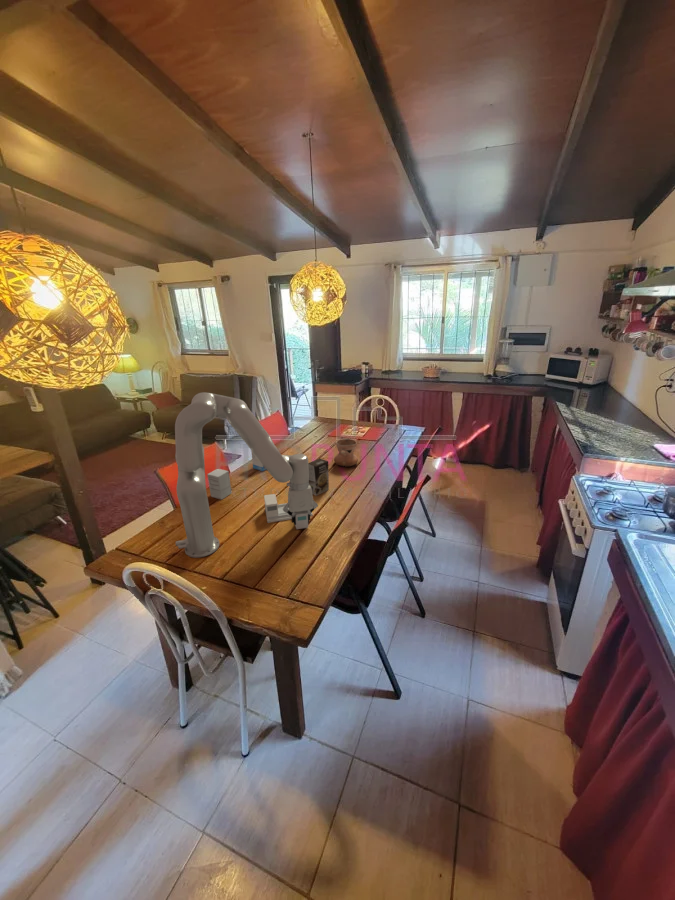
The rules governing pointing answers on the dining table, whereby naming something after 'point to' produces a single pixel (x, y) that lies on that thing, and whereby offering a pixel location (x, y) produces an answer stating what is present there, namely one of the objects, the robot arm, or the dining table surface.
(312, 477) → the coffee box
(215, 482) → the supplement box
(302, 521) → the block
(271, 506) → the white channel bracket
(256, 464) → the ink box
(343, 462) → the ceramic jug
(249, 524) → the dining table surface
